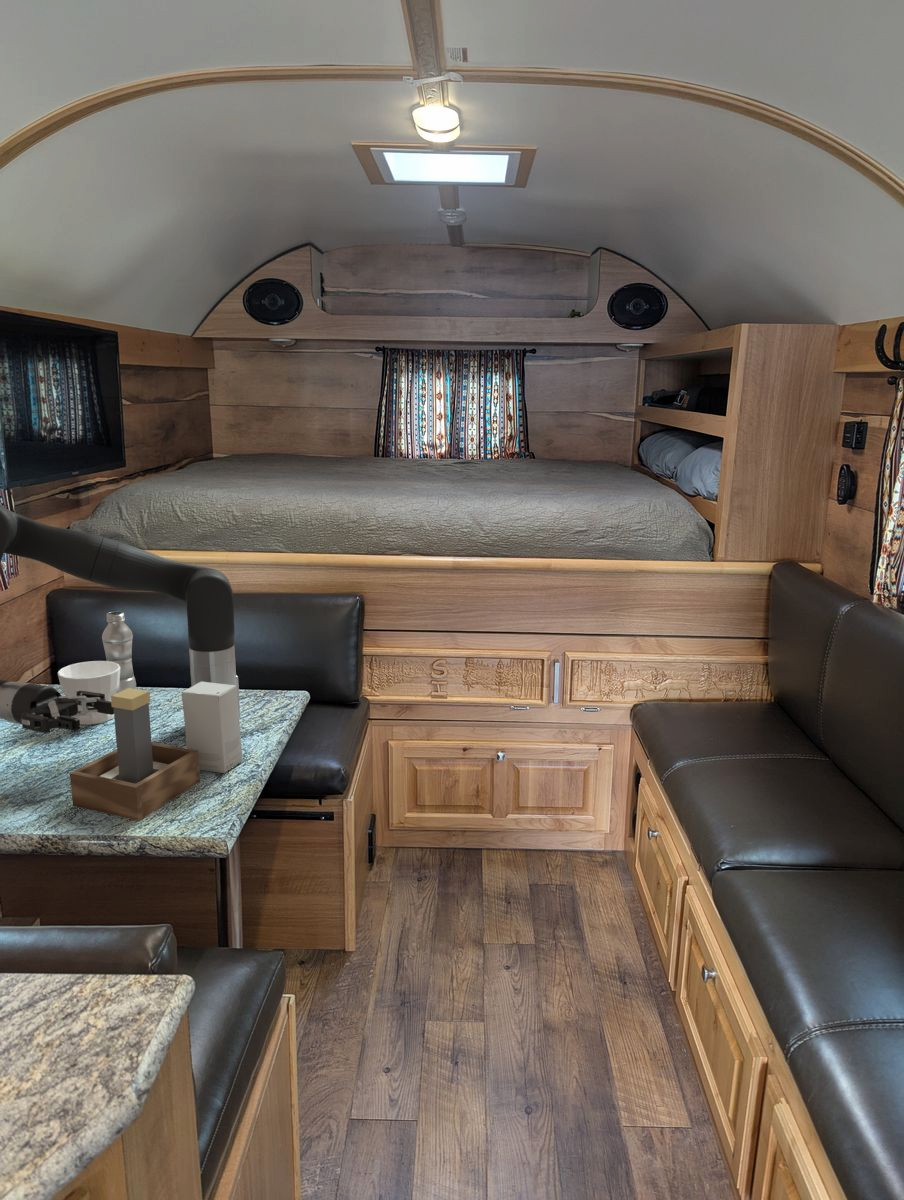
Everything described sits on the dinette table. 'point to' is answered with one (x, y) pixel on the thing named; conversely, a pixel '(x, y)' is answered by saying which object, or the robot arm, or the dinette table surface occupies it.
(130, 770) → the grey plug
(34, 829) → the dinette table surface
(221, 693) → the skincare box
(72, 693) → the cup
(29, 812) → the dinette table surface
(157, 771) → the walnut box
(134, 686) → the plastic bottle
